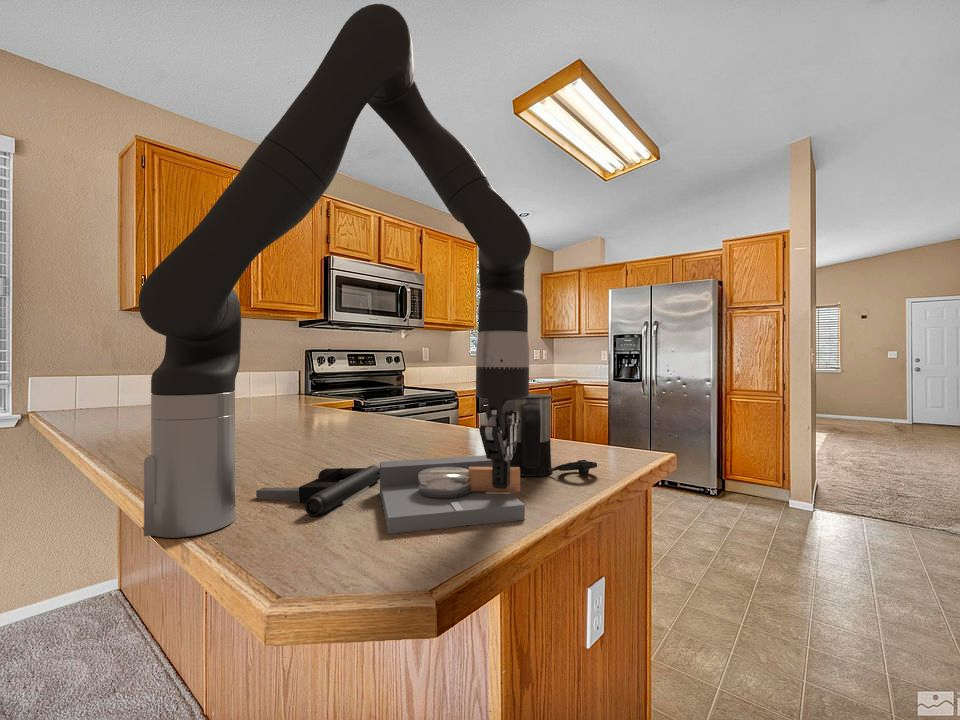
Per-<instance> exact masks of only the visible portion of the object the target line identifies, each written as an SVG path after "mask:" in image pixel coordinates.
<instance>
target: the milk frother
mask: <svg viewBox="0 0 960 720" xmlns="http://www.w3.org/2000/svg"><path fill="white" fill-rule="evenodd" d="M552 397H553V395H552V394H541V393H540V394H539V393H537V394H536V393H529V396H528V397H527V398H526V399H519V400H515V402H516V411H518V413H519V417H520V419H521V423H520V428H519V434H518V439H517V445H516V451H515V453H512V454H513V457H512V460H509V461H510V467H520V477H521V476H522V477H541V476H547V475H550V474H552V473H553V472H555V471H560V472H568V471H578V473H579V475H585V474H590V469H596V468H598V463H597V462H596V461H588V460H586V459H581V460H579V459H578V460H577V461H571V462H570V461H569V462H567V463H562V464H559V465H557V466H554V467H552V453H551V452H552V450H551V449H552V448H551V443H552V442H551V438H552V437H551V435H552V434H551V431H552V430H551V428H552V427H551V423H552V422H551V421H552V420H551V418H552V417H551V416H552V415H551V414H552V413H551V412H552V411H551V410H552V409H551V406H552V404H551V403H552V402H551V400H552Z"/></svg>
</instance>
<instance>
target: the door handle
mask: <svg viewBox="0 0 960 720" xmlns="http://www.w3.org/2000/svg"><path fill="white" fill-rule="evenodd" d="M378 481H380V466H378V465H369V466H367V467H349V468H348V467H345V468H343V467H341V468H339V467H338V468H337V467H336V468H335V467H333V468H324V469H322V470H321V471H320V472H319V473H318V476H317V478H316V479H313V480H311V481H310V482H307V483H305V484H303V485H301V486H298V487H262V488H259V489H256V490H255V491H256V492H255V494H256V500H258V499H259V500H271V501H280V502H281V501H283V502H298V503H299V504H303V503H305V504H304V510H305V512H306V514H307V515H309V516H310V517H317V516H322V515H324V514H325V513H327V512H329V511H330V510H332V509H334V508H336V507H337V506H340V505H339V504H342V505H341V506H345V505H347V504H348V503H349V502H350V500H351V499H352V500H354V499H356V498H357V497H359V496H360V495H362V494H363V492H364V493H365V492H367V491H369V490H370V487H371V486H372V485H374V484H375V483H377V482H378ZM358 495H359V496H358ZM355 497H356V498H355ZM353 498H354V499H353ZM352 500H351V501H352ZM348 501H349V502H348ZM347 502H348V503H347ZM344 504H345V505H344Z"/></svg>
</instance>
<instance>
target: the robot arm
mask: <svg viewBox="0 0 960 720" xmlns="http://www.w3.org/2000/svg"><path fill="white" fill-rule="evenodd" d="M413 46H414V45H413V40H412V35H411V30H410V28H409V25H408V23H407V21H406V19H405V18H404V16H403V15H402V14H401V12H400V11H398V10H397V9H396V8H394V7H393V6H391V5H387V4H384V3H373V4H368V5H366V6H364V7H361V8H359V9H358V10H357V11H355V12H354V13H352V15H351V16H350V17H349V18H347V20H346V21H345V22H344V24H343V26H342V27H341V29H340V30H339V32H338V34H337V35H336V38H334V40H333V42H332V43H331V46H330V47H329V49H328V51H327V53H326V54H325V56H324V57H323V59H322V61H321V63H320V64H319V66H318V68H317V69H316V70H315V72H314V74H313V75H312V77H311V78H310V80H309V81H308V82H307V83H306V85H305V87H303V89H302V90H301V91H300V93H299V94H298V95H297V96H296V97H295V99H294V100H293V102H292V103H291V105H290V106H289V107H288V108H287V110H286V111H285V113H284V114H283V115H282V117H281V118H280V119H279V121H278V122H277V123H276V124H275V126H274V127H272V129H271V130H270V131H269V132H268V134H267V135H266V136H265V137H264V138H263V140H262V141H261V142H260V144H259V145H258V146H257V147H256V149H255V150H254V151H253V152H252V153H251V155H250V156H249V157H248V158H247V160H246V162H245V163H244V165H243V166H242V168H241V169H240V170H239V172H238V173H237V174H236V176H235V177H234V178H233V180H232V181H231V182H230V183H229V185H228V186H227V187H226V188H225V189H224V191H223V192H222V193H221V195H220V196H219V198H217V200H216V201H215V202H214V204H213V205H212V207H211V208H210V210H208V212H207V214H206V215H205V216H204V218H202V220H201V221H199V223H198V225H197V226H195V228H194V229H192V231H191V232H190V233H189V234H188V235H187V236H186V237H185V238H184V239H183V240H182V241H181V242H180V243H179V244H178V245H177V246H175V248H174V249H173V250H172V252H170V253H169V254H168V255H167V256H166V257H165V258H164V259H163V260H162V261H161V262H160V263H159V264H158V265H157V266H156V267H155V268H154V269H153V270H152V271H151V272H150V274H149V275H148V276H147V278H146V279H145V280H144V282H143V284H142V286H141V288H140V291H139V296H138V308H139V309H138V310H139V313H140V317H141V318H142V320H143V322H144V323H145V325H146V326H148V328H149V329H151V330H153V331H154V332H156V333H157V334H159V335H162V336H164V337H165V347H164V348H165V351H164V356H163V359H162V361H161V363H160V364H159V366H158V367H157V368H156V369H154V371H153V372H152V374H151V376H150V393H151V394H150V407H151V408H150V428H151V429H150V436H151V437H150V455H148V456H146V457H145V458H144V460H143V537H159V538H167V539H168V538H169V539H170V538H172V539H173V538H175V539H176V538H187V537H193V536H199V535H203V534H207V533H211V532H214V531H217V530H220V529H222V528H225V527H227V526H228V525H231V524H232V523H233V522H234V521H235V519H236V379H237V376H238V375H237V374H238V372H239V368H240V363H241V347H242V346H241V345H242V344H241V343H242V309H241V302H240V299H239V296H238V294H237V292H236V291H235V289H234V288H235V287H236V284H237V283H238V282H239V280H240V278H241V277H242V276H243V274H244V273H245V271H246V270H247V268H248V267H249V266H250V265H251V263H252V262H253V261H254V259H256V258H257V256H259V254H261V253H262V252H263V251H264V250H265V249H267V248H268V247H269V246H270V245H271V244H273V243H275V242H276V241H277V240H279V239H280V238H282V237H283V236H284V235H286V234H287V233H288V232H289V231H291V230H293V229H294V228H295V227H296V226H297V225H298V224H300V222H302V221H303V220H304V219H305V218H306V216H307V215H308V214H309V213H310V212H311V211H312V209H313V208H314V207H315V205H316V204H317V203H318V202H319V200H320V199H321V198H322V196H323V195H324V193H326V191H327V189H328V188H329V187H330V185H331V184H332V181H333V180H334V178H335V176H336V175H337V172H338V169H339V167H340V165H341V163H342V159H343V157H344V156H345V155H344V154H345V152H346V148H347V145H348V143H349V140H350V136H351V134H352V132H353V129H354V126H355V124H356V122H357V120H358V118H359V116H360V114H361V113H362V111H363V110H364V108H365V107H366V105H368V106H369V107H370V108H371V109H372V110H373V111H374V112H375V113H376V114H377V115H378V116H379V118H380V119H382V121H383V122H384V123H385V124H386V125H387V126H388V127H389V128H390V130H392V132H393V133H394V134H395V135H396V136H397V138H398V139H399V140H400V142H401V143H402V144H403V145H404V147H405V148H406V149H407V150H408V152H409V153H410V155H411V156H412V157H413V158H414V160H415V162H416V163H417V165H418V166H419V168H420V169H421V170H422V172H423V174H424V176H425V177H426V178H427V180H428V181H429V183H430V184H431V186H432V188H433V189H434V191H435V192H436V193H437V195H438V196H439V198H440V200H441V201H442V203H443V204H444V206H445V207H446V209H447V210H448V212H449V214H451V216H452V217H453V218H454V219H455V220H456V221H457V222H458V223H460V224H463V226H464V227H465V230H466V231H467V232H468V233H469V234H470V236H471V238H472V239H473V241H474V243H475V244H476V246H477V248H478V280H479V293H480V295H479V296H480V297H479V303H478V314H477V315H478V317H477V319H478V324H477V325H478V326H477V327H478V328H477V329H478V330H477V332H478V334H477V341H476V342H477V343H476V349H475V350H476V351H475V356H476V357H475V396H476V397H477V398H479V399H483V400H484V399H485V400H487V405H486V406H487V407H486V411H485V414H484V424H485V425H483V424H482V425H480V426H479V431H478V432H479V435H480V438H481V442H482V446H483V449H484V453H485V455H486V457H487V459H491V461H493V466H492V486H493V487H494V488H499V489H506V488H507V487H508V486H509V485H510V461H509V460H512V457H513V454H512V453H515V451H516V445H517V439H518V434H519V428H520V423H521V419H520V417H519V413H518V411H516V402H515V400H519V399H526V398H527V397H528V396H529V394H530V344H529V333H528V332H529V330H528V327H529V324H528V322H529V318H528V317H529V316H528V315H529V309H528V308H529V307H528V306H529V305H528V298H527V296H526V295H525V266H526V260H528V257H529V256H530V253H531V249H532V240H531V239H532V238H531V236H530V232H529V230H528V228H527V227H526V223H524V222H523V220H522V218H521V217H520V216H519V214H518V213H517V212H516V211H515V210H514V208H513V207H512V206H511V205H510V204H509V203H508V202H507V201H506V199H505V198H503V197H502V196H501V195H500V194H499V193H498V192H497V191H496V189H494V187H493V185H492V183H491V181H490V179H488V177H487V175H486V174H485V172H484V170H483V169H482V168H481V166H480V165H479V163H478V162H477V160H476V159H475V157H474V156H473V154H472V153H471V152H470V150H469V149H468V147H466V145H465V144H463V142H462V141H461V140H460V139H459V138H458V137H456V136H455V135H454V134H453V133H452V132H451V131H449V129H447V128H445V126H443V125H442V124H441V123H440V122H439V121H438V120H437V118H436V117H435V116H434V114H433V113H432V112H431V110H430V109H429V106H427V104H426V102H425V100H424V97H423V96H422V94H421V91H420V89H419V88H418V85H417V82H416V80H415V78H414V74H415V67H414V66H415V65H414V64H415V63H414V49H413V48H414V47H413Z"/></svg>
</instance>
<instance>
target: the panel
mask: <svg viewBox="0 0 960 720" xmlns="http://www.w3.org/2000/svg"><path fill="white" fill-rule="evenodd" d="M492 466H493V461H491V459H487V457H486V454H484V455H469V456H454V457H439V458H438V457H436V458H423V459H405V460H391V461H389V460H387V461H379V468H380V479H379V497H380V500H381V506H382V505H383V506H382V510H384V511H383V514H385V515H384V519H385V524H386V529H387V534H388V535H390V534H401V533H403V534H404V533H411V532H421V531H430V530H431V529H432V530H438V529H440V530H441V529H450V528H459V526H460V527H467V526H466V525H470V526H476V525H487V524H496V523H497V524H498V523H506V522H515V521H524V520H525V517H526V515H525V514H526V513H525V512H526V511H525V509H526V507H525V506H526V505H525V504H524V503H523V502H522V501H521V500H520V499H518V498H517V497H516V496H515V495H514V494H512V492H503V491H471V492H470V493H468V494H466V495H463V496H458V497H449V498H437V497H429V496H425V495H422V494H420V493H419V492H418V473H419V472H420V471H422V470H425V469H429V468H436V467H459V468H465V469H468V470H469V467H492ZM420 530H421V531H420ZM432 530H431V531H432Z"/></svg>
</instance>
